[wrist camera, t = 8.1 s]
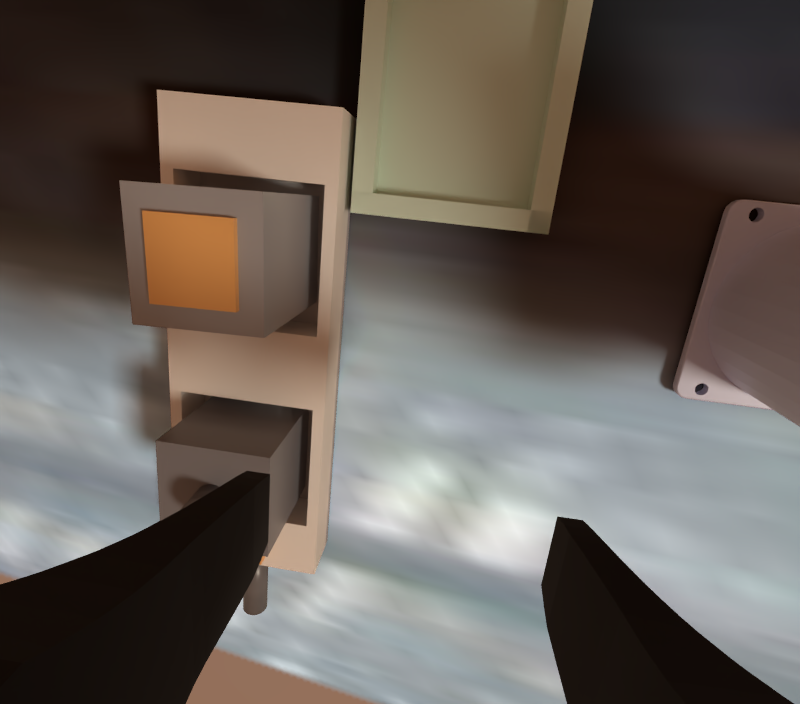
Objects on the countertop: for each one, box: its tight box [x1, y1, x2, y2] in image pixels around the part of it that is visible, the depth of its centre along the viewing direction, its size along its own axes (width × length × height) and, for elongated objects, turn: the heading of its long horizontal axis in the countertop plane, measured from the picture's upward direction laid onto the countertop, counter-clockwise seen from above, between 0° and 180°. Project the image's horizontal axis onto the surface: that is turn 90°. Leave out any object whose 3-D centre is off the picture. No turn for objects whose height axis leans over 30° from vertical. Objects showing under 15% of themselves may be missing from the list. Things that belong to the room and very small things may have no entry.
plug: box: [119, 180, 319, 338], centre depth 17 cm, size 4×4×6 cm
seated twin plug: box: [156, 396, 309, 557], centre depth 20 cm, size 4×4×6 cm
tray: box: [350, 0, 593, 234], centre depth 18 cm, size 8×10×1 cm
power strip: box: [157, 90, 357, 615], centre depth 21 cm, size 7×24×3 cm, turn 174°
